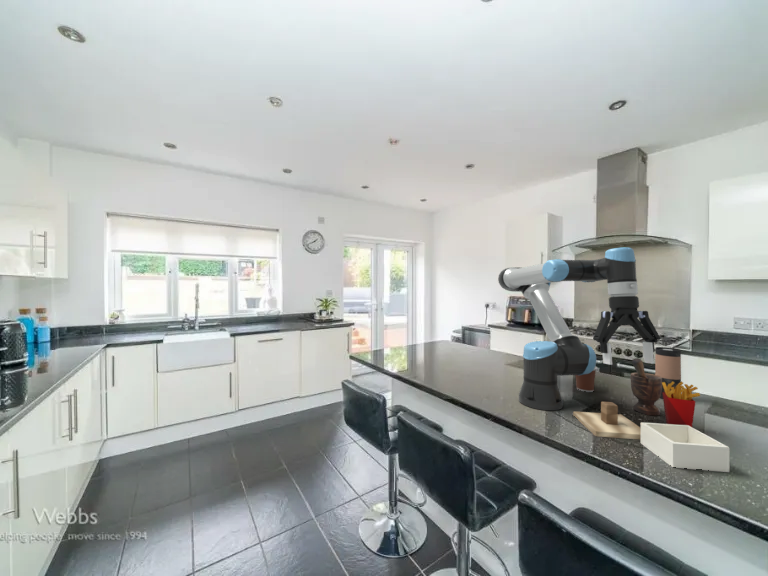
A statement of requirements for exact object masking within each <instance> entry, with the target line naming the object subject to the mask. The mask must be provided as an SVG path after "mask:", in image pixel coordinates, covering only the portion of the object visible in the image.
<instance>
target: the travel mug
mask: <svg viewBox="0 0 768 576" xmlns="http://www.w3.org/2000/svg"><path fill="white" fill-rule="evenodd" d="M681 352H682V350H681V349H679V348H673V347H666V346H665V347H663V346H661V347H660V346H658V347H657V346H656V347H655V359H654V364H655V365H654V366H655V369H654V375H658V376H660V377H662V382H665V384H666V386H668V384H670V383H671V382H672V381H673V382H674V384H673V385H672V387H674V389H675V388H676V386H677V385H678V384H679V383H680V382H681V381H682V361H681V360H682V355H681V354H682V353H681ZM670 391H671V389H670ZM662 392H665V390H664V387H663V385H662V391H661V396H660V398H659V400H660V399H661V400H663V393H662Z"/></svg>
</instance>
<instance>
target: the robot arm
mask: <svg viewBox="0 0 768 576" xmlns="http://www.w3.org/2000/svg"><path fill="white" fill-rule="evenodd" d="M604 253H605V254H604V257H601V258H599V259H559V258H558V259H557V258H556V259H548V260H546V262H544V263H539V264H535V265H529V266H525V267H517V266H516V267H513V266H512V267H507V268H504V269H502V270H501V271H500V273H499V274H498V280H497V282H498V284H499V286H500V287H501V288H502V289H503V290H505V291H508V292H521V293H522V295H523V297H524V299H527V300H529V302H530V304H531V306H532V307H533V310H534V312H535V314H536V315H537V318H538V320H539V322H540V324H541V326H542V328H543V329H544V332H545V334H546V336H547V338H548V340H543V341H541V340H538V341H531V342H528V343H526V344H525V345H524V346H523V352H522V353H523V354H522V357H523V381H522V384H521V387H520V390H519V393H518V402H519V403H521V405H523V406H526V407H529V408H532V409H536V410H542V411H558V410H560V409H562V408H563V402H564V401H563V398H562V395H561V392H560V389H559V386H558V377H560V376H563V377H564V376H575V375H583V374H589V373H591V372H592V371H593V370H594V368H595V366H596V363H597V354H596V351H595V350H594V348H593V347H592V346H590V345H588V344H587V343H582V341H581V340H580V337H579V336H578V335H575V334H573V333H571V330H570V329H569V326H568V324H567V322H566V321H565V319H564V317H563V315H562V314H561V312H560V311H559V309H558V307H557V305H556V303H555V302H554V299H553V298H552V297H551V294H550V293H549V291H550V286H551V283H558V282H581V283H596V282H601V281H605V280H606V281H607V296H610V297H609V298H608V307H609V309H610V311H607V310H606V311H605V310H604V311H601V312H600V319H599V321H598V324H597V326H596V329H595V332H594V335H593V337H592V340H593V341H596V342H597V343H599V347H600V354H602V363H603V364H606V365H611V366H612V365H613V357H612V356H613V355H612V342H611V343H610V342H609V341H610V340H611V338H612V337H613V336H614V334H615V333H616V331H617V330H618V329H619V328H620V327H621V326H630V327H632V328H633V329H634V331H636V332H637V334H639V336H640V337H641V338H642V339H643V340H644V341H642V353H643V354H642V355H643V363H646V364H651V365H654V364H655V359H654V353H655V352H656V348H655V343H657V342H658V341H660V340H661V336H660V335H659V333H658V331H657V329H656V328H655V326H654V323H653V322H652V320H651V319H650V316H649V311H647V310H638V308H639V307H640V302H639V300H640V299H639V297H638V296H636V295H638V294H639V290H638V289H639V288H638V281H637V269H636V268H637V265H636V261H637V260H636V256H635V250H634V249H633V248H631V247H623V246H622V247H615V248H609V249H607V250H606V251H605V252H604ZM611 318H612V319H611ZM596 367H597V366H596Z"/></svg>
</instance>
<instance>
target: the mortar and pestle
mask: <svg viewBox="0 0 768 576" xmlns="http://www.w3.org/2000/svg"><path fill="white" fill-rule="evenodd" d="M631 363H632V366H633V368H634V369H635V371H636V372H631V373H630V377H629V378H630V388H631V391H632V395H633V396H634V397H635V398H636V399H637V402H636V403H635V404H634V405H633V407H632V409H633V410H634V411H636V412H638V413H640V414H643V415H645V416H646V415H647V416H660V415H661V410H660V409H659V407H657V405H655V403H656V402H657V401H659V400H660V396H661V391H662V377H660V376H658V375H655V373H654V374H653V373H647V372H646V371H645V366H644V361H643V360H642V359H641V358H636V357H635V358H633V359H631Z"/></svg>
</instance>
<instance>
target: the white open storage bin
mask: <svg viewBox="0 0 768 576" xmlns="http://www.w3.org/2000/svg"><path fill="white" fill-rule="evenodd" d="M640 428H641V440H640V444H641V445H642V446H644V447H645V448H646V449H648V450H649V451H650V452H652V453H653V454H654V455H655V456H657V457H658V456H659V457H658V458H659V459H661V460H662V461H663V462H665V463H666V464H667V465H669V466H670V465H671V466H670V467H672V468H673V467H676V468H675V469H684V468H687V470H696V469H702V470H701V471H708V470H709V472H719V473H720V472H722V473H723V472H724V473H730V447H729V446H728V445H726V444H725V443H724V444H723V443H722V442H720V441H718V440H716V439H715V438H713V437H711V436H709V435H707V434H705V433H703V432H701V431H699V430H698V429H696V428H694V427H693V426H692V427H690V426H689V425H674V424H667V423H657V422H640Z"/></svg>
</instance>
